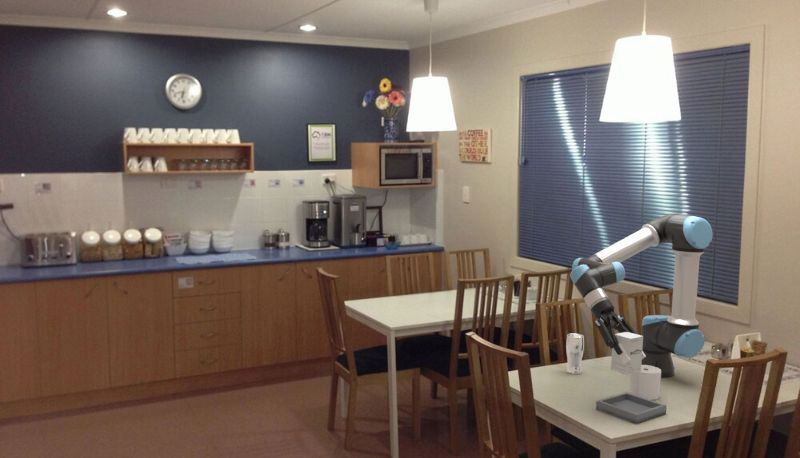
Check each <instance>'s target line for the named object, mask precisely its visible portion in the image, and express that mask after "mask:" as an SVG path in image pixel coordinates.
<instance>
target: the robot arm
mask: <svg viewBox="0 0 800 458" xmlns="http://www.w3.org/2000/svg"><path fill="white" fill-rule="evenodd" d="M712 240H713V228H712V226H711V223H709V222H708V220H707V219H705V218H702V217H700V216H695V215H687V214H686V215H685V214H678V213H669V214H665V215H662V216H659V217H657V218H655V219H653V220H651V221H648V222H647V223H645V224H643V225H642V226H641V228H640V229H639V230H637V231H635V232H633V233H632V234H630V235H627V236H626V237H624V238H623V239H620V240H618V241H616V242H615V243H613V244H610V245H609V246H607V247H605V248H604V249H602V250H599V251H598V252H596V253H594V254H592V255H590V256H587V257H586V258H585V257H578V258H576V259H575V260H574V261H573V263H572V265H571V269H572V270H571V271H570V274H569V277H570V279H571V281H572V283H573V285H574V287H575V288H576V289H577V290H578V292H579V294H580V296H581V297H582V299H583V300H584V302H585V303H586V305H587V306H588V308H589V309H590V313H592V314H593V316H594V318H595V319H596V320H595V321H594V322H593V323H594V325H595V326H596V328H597V330H598V331H599V333H600V335H601V337H602V339H603V342H604V343H605V345H606V347H609V349H611V350H612V348H614V350H615V351H616V353H617V354H618V355H619V356H620V358H621V360H622V361H623V363H624V364H627V363H628V362H629V361H630V360H631V359H630V358H629V356H628V355H627V353H626V351H625V350H624V348H623V347H622V345H621V343H619V344H618V341H617V338H616V336H615V334H616V332H615V331H618V333H623V332H630V333H634V334H638V333H637V332H636V331H635V330H634V328H633V327H632V326H631V324H630V323H629V322H628V321H627V319H626V317H625V315H624V314H623V313H621V314H620V315H618V314H617V313H616V312H615V311H614V310H615V306H614V305H613V303H612V301H611V300H610V299H609V296H608V295H607V293H606V292H605V290H604V289H603V288H605V287H607V286H608V287H609V286H612V285H614V284H617V283H620V282H622V281H623V280H625V278H626V270H625V267H624V265H623V264H622V263H623V262H624V261H626V260H628V259H630V258H631V257H633V256H635V255H637V254H639V253H640V252H643V251H644V250H646V249H648V248H650V247H654V248H655V247H658V246H659V245H662V244H663V245H664V244H671V251H672V253H674V254H675V261H674V272H673V273H674V274H673V285H672V286H673V288H672V299H671V300H672V303H671V314H670V315H665V314H664V315H663V314H661V315H660V314H654V315H653V314H652V315H646V316H644V317H643V318H642V321H641V322H642V323H641V327H640V328H641V330H640V331H641V334H640V335H641V336H643V347H642V363H641V365H649V366H654V367H657V368H659V369H661V378H668V377H673V376H674V375H675V372H676V371H675V365H674V362H673V357H672V354H673V355H676V356H677V357H680V358H685V359H691V358H694V357H696V356H697V355H698V354H699V353H700V352H701V351H702V350H703V348H704V346H705V342H706V341H705V335H704V334H703V332H702V331H701V330H700V329H699V327H700V322H699V321H698V320H697V318H696V310H697V298H698V286H699V285H698V283H699V268H700V260H701V259H700V257H701V256H702V255H703V254H705V249H706V248H708V247H709V246H710V243H712Z"/></svg>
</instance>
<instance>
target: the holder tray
mask: <svg viewBox="0 0 800 458" xmlns="http://www.w3.org/2000/svg"><path fill="white" fill-rule="evenodd" d="M595 402H596V403H595V410H597V411H600V412H603V413H606V414H608V415H611V416H613V417H616V418H619V419H622V420H624V421H627V422H630V423H632V424H636V425H638V424H640V423H644V422H646V421H649V420H653V419H656V418H658V417H660V416H661V417H662V416H664V415H667V404H665V403H664V404H663V403H661V402H658V401H655V400H649V399H646V398H643V397H640V396H637V395H634V394H631V393H629V392H627V391H625V392H621V393H617V394H615V395H612V396H608V397H604V398H601V399H598V400H596V401H595Z"/></svg>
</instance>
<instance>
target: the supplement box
mask: <svg viewBox="0 0 800 458" xmlns="http://www.w3.org/2000/svg"><path fill="white" fill-rule="evenodd" d="M615 336H616V338H617V341H618V344H619V343H621V345H622V347H623V348H624V350H625V351H626V353H627V355H628V356H629V358H630V359H631V360H630V361H629V362H628V363H627V364H624V363H623V361H622V360H621V358H620V356H619V355H618V354H617V353H616V351H615V350H614V348H612V349H611V357H610V358H611V360H610V361H611V362H610V370H612V371H615V372H618V373H620V374H624V375H626V376H628V375H630V374H631V373H635V372H640V371H641V363H642V347H643V336H641V334H638V333H637V334H634V333H630V332H623V333H620V332H618V333H615Z"/></svg>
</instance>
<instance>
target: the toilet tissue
mask: <svg viewBox="0 0 800 458" xmlns="http://www.w3.org/2000/svg"><path fill="white" fill-rule="evenodd" d="M661 381H662V377H661V369H659V368H657V367H654V366H649V365H641V371H640V372H635V373H631V374H629V389H628V390H629V392H628V393H631V394H634V395H637V396H640V397H643V398H646V399H649V400H652V401H655V400H659V399H660V396H661V384H662V382H661Z"/></svg>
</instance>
